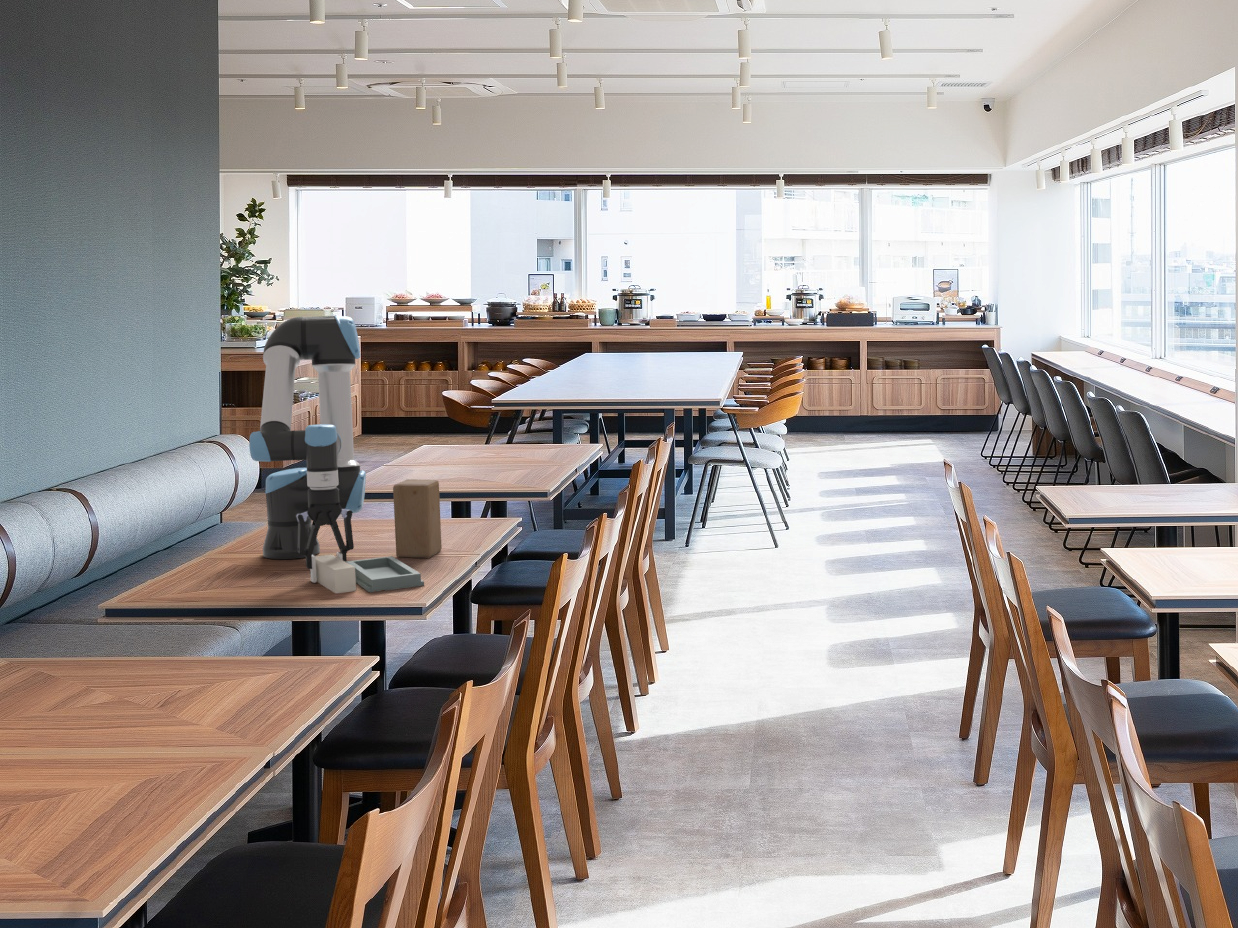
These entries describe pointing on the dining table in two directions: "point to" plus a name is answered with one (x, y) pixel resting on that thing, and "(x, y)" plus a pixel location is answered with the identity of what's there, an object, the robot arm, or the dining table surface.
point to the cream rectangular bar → (335, 574)
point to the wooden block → (417, 518)
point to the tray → (385, 574)
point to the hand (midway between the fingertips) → (327, 579)
